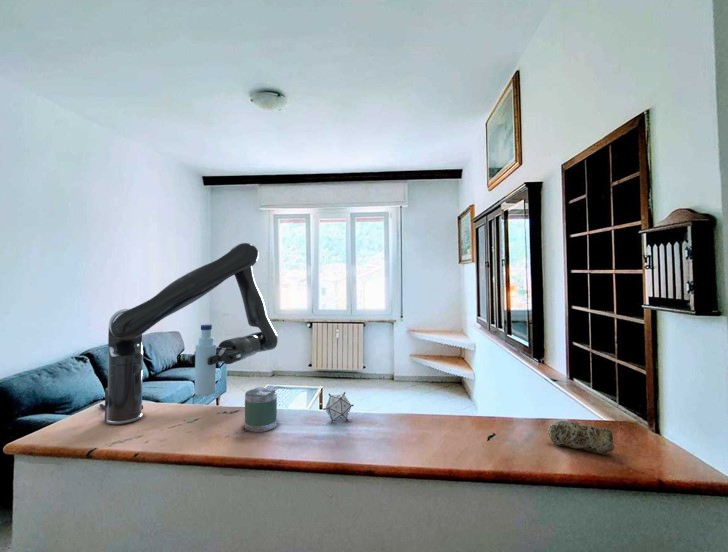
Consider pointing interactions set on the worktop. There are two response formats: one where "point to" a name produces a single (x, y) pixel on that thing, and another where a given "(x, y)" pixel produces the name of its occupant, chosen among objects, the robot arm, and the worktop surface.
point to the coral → (581, 437)
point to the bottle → (205, 363)
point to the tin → (260, 409)
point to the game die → (338, 407)
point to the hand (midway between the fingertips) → (199, 360)
